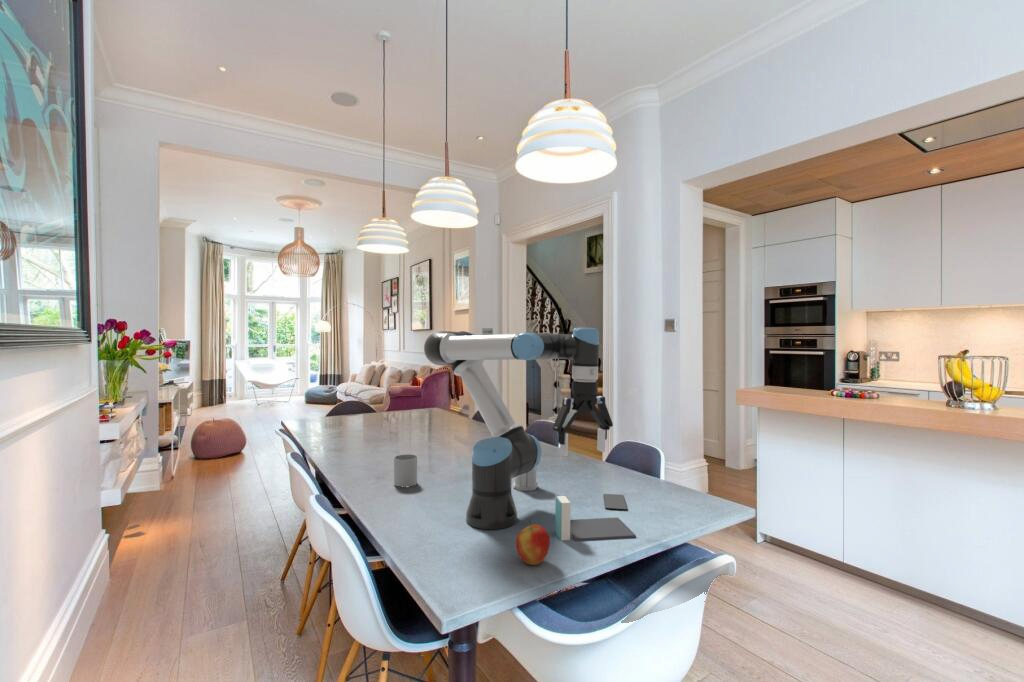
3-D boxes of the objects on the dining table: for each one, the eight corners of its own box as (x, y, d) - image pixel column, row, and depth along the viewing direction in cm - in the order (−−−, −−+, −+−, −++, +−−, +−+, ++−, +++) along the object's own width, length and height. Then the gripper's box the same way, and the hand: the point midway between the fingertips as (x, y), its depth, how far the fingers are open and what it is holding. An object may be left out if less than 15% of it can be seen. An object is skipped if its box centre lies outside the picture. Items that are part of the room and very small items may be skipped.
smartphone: (623, 494, 162) (627, 509, 147) (623, 497, 162) (627, 512, 147) (603, 493, 163) (605, 507, 148) (603, 496, 163) (605, 510, 148)
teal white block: (560, 540, 125) (560, 503, 125) (555, 532, 131) (555, 496, 131) (570, 539, 126) (570, 502, 126) (564, 531, 131) (565, 495, 131)
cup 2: (505, 486, 172) (505, 453, 172) (523, 481, 178) (523, 449, 178) (524, 493, 164) (525, 458, 164) (543, 487, 170) (543, 454, 170)
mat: (575, 540, 125) (575, 538, 125) (562, 522, 138) (562, 520, 138) (635, 537, 128) (635, 535, 128) (617, 519, 140) (618, 517, 140)
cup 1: (411, 488, 169) (412, 460, 169) (390, 486, 170) (390, 459, 170) (420, 481, 177) (420, 454, 177) (399, 480, 179) (399, 453, 179)
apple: (543, 573, 107) (544, 529, 107) (510, 566, 110) (511, 524, 110) (553, 558, 115) (554, 517, 115) (522, 552, 118) (523, 512, 118)
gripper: (556, 383, 127) (554, 460, 128) (626, 380, 140) (624, 451, 140) (541, 380, 134) (539, 454, 134) (609, 378, 146) (607, 446, 146)
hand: (582, 453), depth 137 cm, fingers open, 13 cm apart
